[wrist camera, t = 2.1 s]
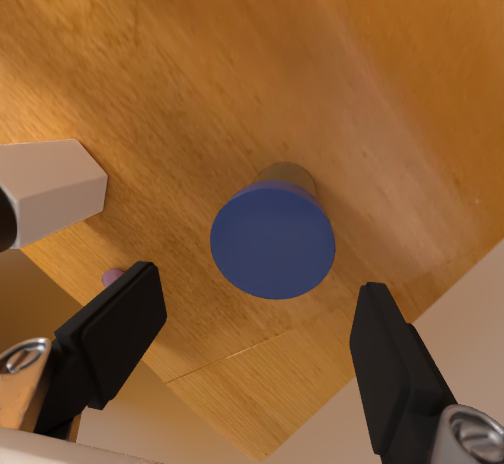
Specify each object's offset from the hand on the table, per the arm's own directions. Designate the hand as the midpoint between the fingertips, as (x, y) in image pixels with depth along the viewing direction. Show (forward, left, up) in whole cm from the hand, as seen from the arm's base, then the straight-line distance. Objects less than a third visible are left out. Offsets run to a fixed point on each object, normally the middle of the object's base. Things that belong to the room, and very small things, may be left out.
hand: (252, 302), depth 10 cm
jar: (+23, -1, -15) cm, 28 cm away
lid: (0, 0, -4) cm, 4 cm away
